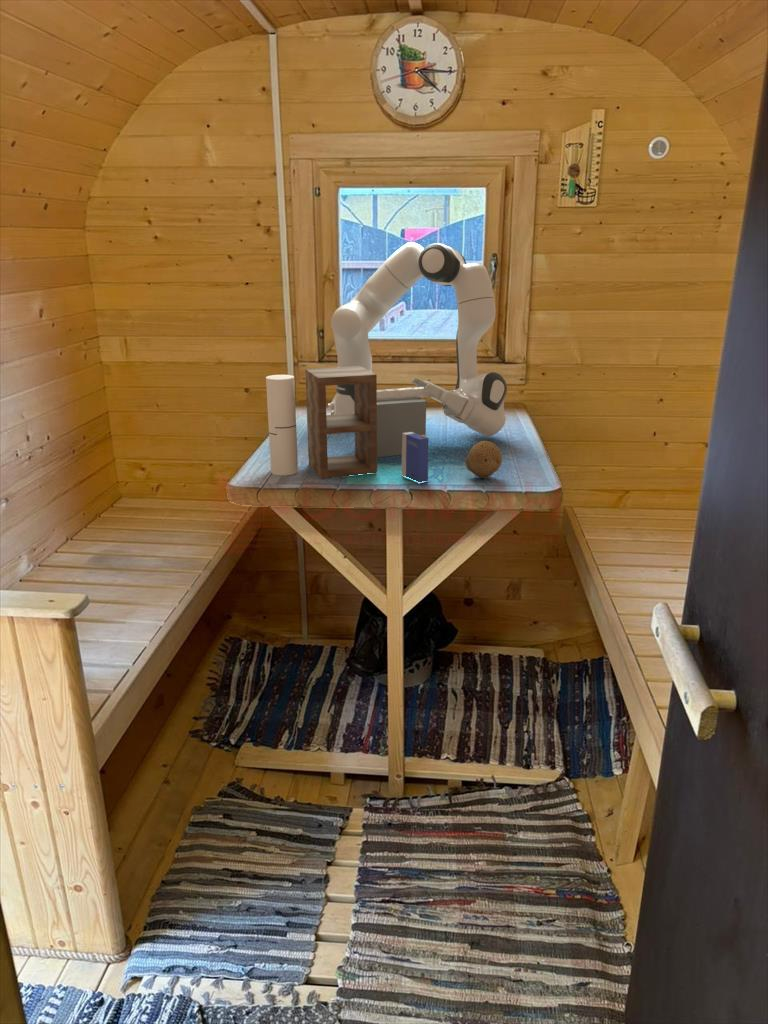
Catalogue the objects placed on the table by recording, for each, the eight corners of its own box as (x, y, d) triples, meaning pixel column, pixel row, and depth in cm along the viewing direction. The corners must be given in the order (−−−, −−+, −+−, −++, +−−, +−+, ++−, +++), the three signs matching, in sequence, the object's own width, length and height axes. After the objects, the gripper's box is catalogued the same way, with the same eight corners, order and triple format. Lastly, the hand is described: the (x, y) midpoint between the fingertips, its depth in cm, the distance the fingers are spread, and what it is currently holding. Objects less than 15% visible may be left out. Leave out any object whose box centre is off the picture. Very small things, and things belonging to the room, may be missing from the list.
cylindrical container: (293, 475, 198) (289, 379, 189) (267, 474, 199) (262, 379, 190) (301, 468, 204) (297, 375, 196) (275, 466, 206) (270, 374, 197)
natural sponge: (504, 484, 191) (506, 445, 188) (469, 484, 191) (470, 446, 187) (496, 473, 200) (498, 436, 196) (463, 474, 199) (464, 437, 196)
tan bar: (364, 399, 215) (364, 390, 214) (430, 395, 221) (430, 386, 220) (367, 401, 213) (367, 392, 212) (433, 396, 219) (433, 387, 218)
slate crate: (359, 447, 225) (359, 396, 219) (410, 442, 229) (411, 393, 224) (372, 457, 214) (371, 404, 209) (425, 452, 219) (426, 401, 213)
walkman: (427, 482, 192) (428, 436, 188) (419, 484, 191) (419, 438, 187) (410, 475, 198) (410, 430, 194) (401, 476, 197) (401, 431, 193)
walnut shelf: (308, 464, 207) (305, 368, 198) (361, 459, 212) (360, 365, 203) (321, 479, 195) (318, 378, 186) (376, 473, 199) (376, 374, 190)
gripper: (448, 388, 232) (412, 367, 226) (477, 401, 214) (438, 379, 208) (438, 406, 233) (402, 386, 227) (466, 421, 215) (427, 399, 209)
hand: (419, 383), depth 217 cm, fingers open, 8 cm apart
